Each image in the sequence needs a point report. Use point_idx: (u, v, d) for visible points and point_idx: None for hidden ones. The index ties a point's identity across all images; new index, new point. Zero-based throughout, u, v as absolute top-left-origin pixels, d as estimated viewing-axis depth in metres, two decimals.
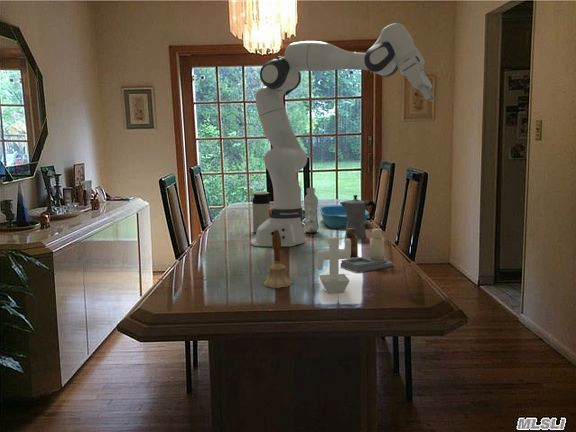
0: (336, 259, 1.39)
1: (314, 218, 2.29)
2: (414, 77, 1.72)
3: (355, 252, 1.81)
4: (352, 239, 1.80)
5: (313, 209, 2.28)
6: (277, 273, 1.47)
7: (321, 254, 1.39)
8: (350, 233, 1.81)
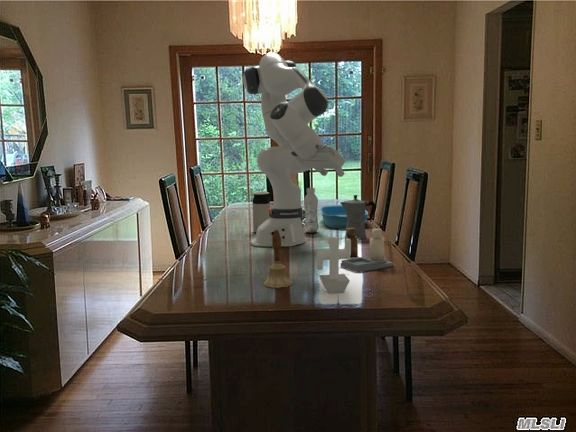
0: (336, 259, 1.39)
1: (314, 218, 2.29)
2: None
3: (355, 252, 1.81)
4: (352, 239, 1.80)
5: (313, 209, 2.28)
6: (277, 273, 1.47)
7: (321, 254, 1.39)
8: (350, 233, 1.81)
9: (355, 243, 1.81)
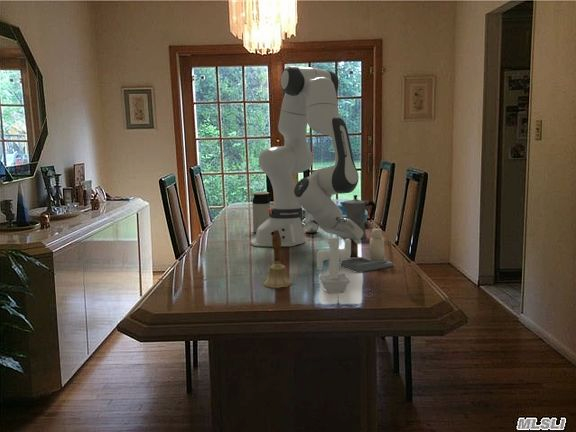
0: (336, 259, 1.39)
1: None
2: None
3: (355, 252, 1.81)
4: None
5: None
6: (277, 273, 1.47)
7: (321, 254, 1.39)
8: None
9: None
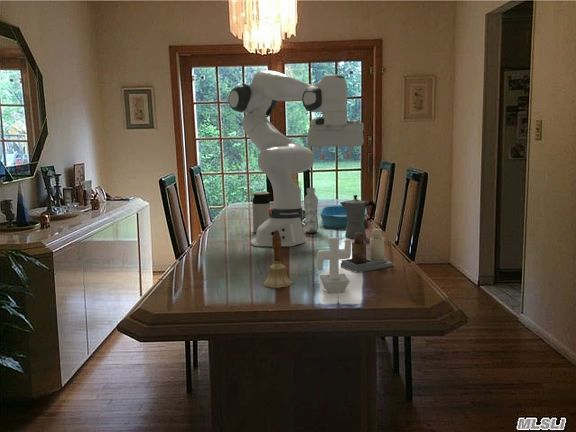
0: (336, 259, 1.39)
1: (314, 218, 2.29)
2: (307, 138, 1.84)
3: (364, 259, 1.65)
4: (360, 245, 1.63)
5: (313, 209, 2.28)
6: (277, 273, 1.47)
7: (321, 254, 1.39)
8: (358, 238, 1.64)
9: (364, 249, 1.64)
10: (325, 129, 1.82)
